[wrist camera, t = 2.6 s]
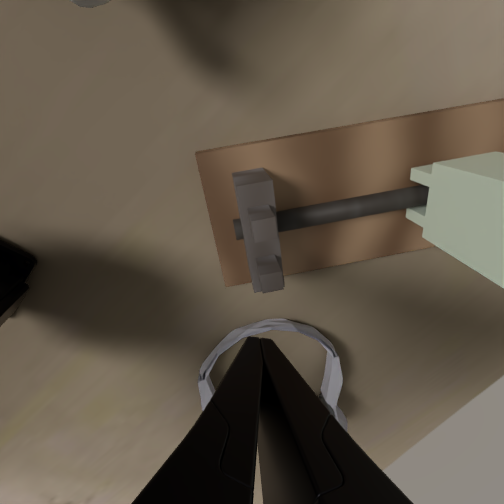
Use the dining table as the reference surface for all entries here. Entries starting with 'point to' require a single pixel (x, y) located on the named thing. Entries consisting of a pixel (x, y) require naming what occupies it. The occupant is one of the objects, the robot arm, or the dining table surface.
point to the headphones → (332, 368)
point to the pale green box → (465, 210)
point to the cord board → (332, 191)
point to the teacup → (89, 3)
